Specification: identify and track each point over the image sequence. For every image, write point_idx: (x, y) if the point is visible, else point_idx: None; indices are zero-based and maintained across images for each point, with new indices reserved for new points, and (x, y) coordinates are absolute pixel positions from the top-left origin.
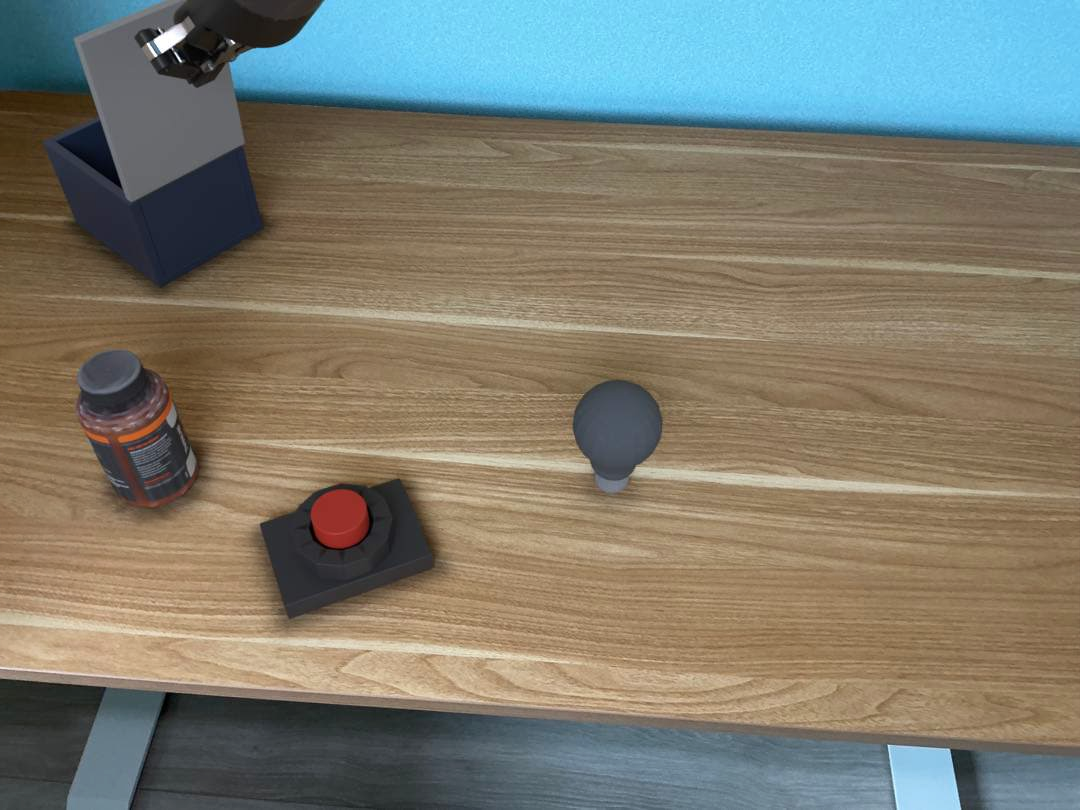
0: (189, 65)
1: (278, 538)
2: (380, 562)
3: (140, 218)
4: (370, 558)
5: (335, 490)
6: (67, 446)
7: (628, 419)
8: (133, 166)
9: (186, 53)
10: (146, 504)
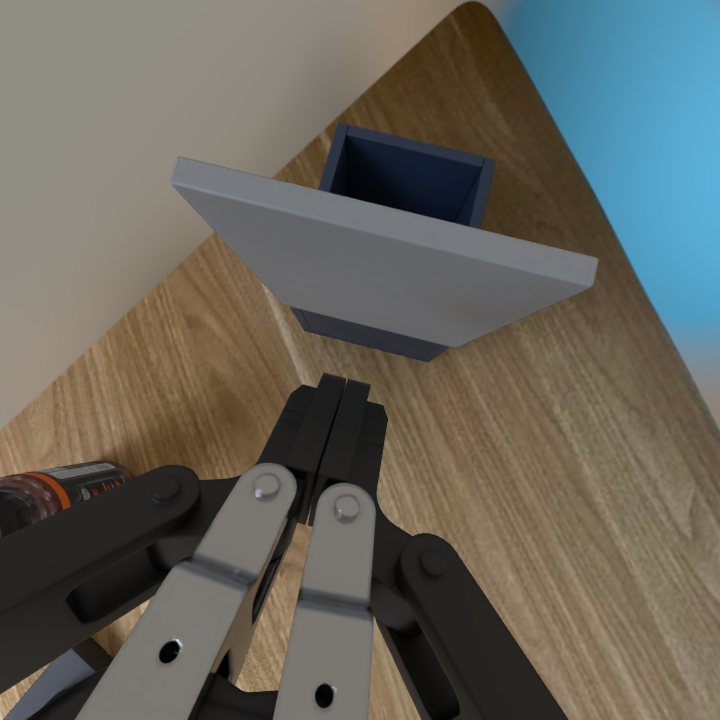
0: (99, 627)
1: (59, 672)
2: None
3: (295, 309)
4: None
5: None
6: (103, 397)
7: None
8: (289, 297)
9: (166, 556)
10: None
